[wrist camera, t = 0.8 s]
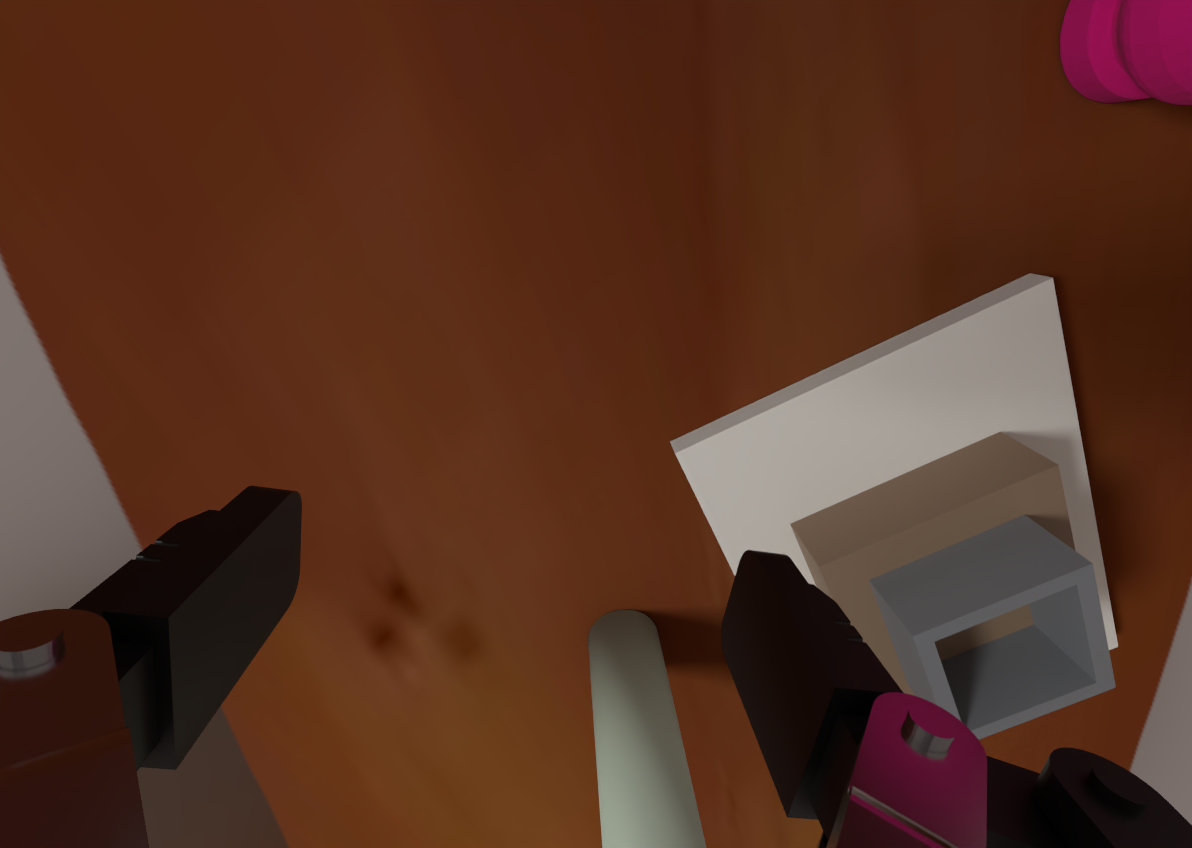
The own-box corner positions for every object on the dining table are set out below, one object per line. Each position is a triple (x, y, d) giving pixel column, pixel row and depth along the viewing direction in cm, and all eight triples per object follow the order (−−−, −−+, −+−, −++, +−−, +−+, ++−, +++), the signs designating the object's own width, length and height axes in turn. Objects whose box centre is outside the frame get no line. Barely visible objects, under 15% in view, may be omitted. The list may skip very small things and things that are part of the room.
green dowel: (575, 627, 37) (589, 926, 22) (640, 599, 36) (698, 885, 22) (606, 674, 39) (638, 982, 24) (668, 648, 38) (740, 946, 23)
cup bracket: (669, 441, 33) (712, 538, 24) (1030, 273, 30) (1224, 311, 21) (816, 741, 42) (884, 889, 33) (1098, 630, 40) (1252, 758, 31)
